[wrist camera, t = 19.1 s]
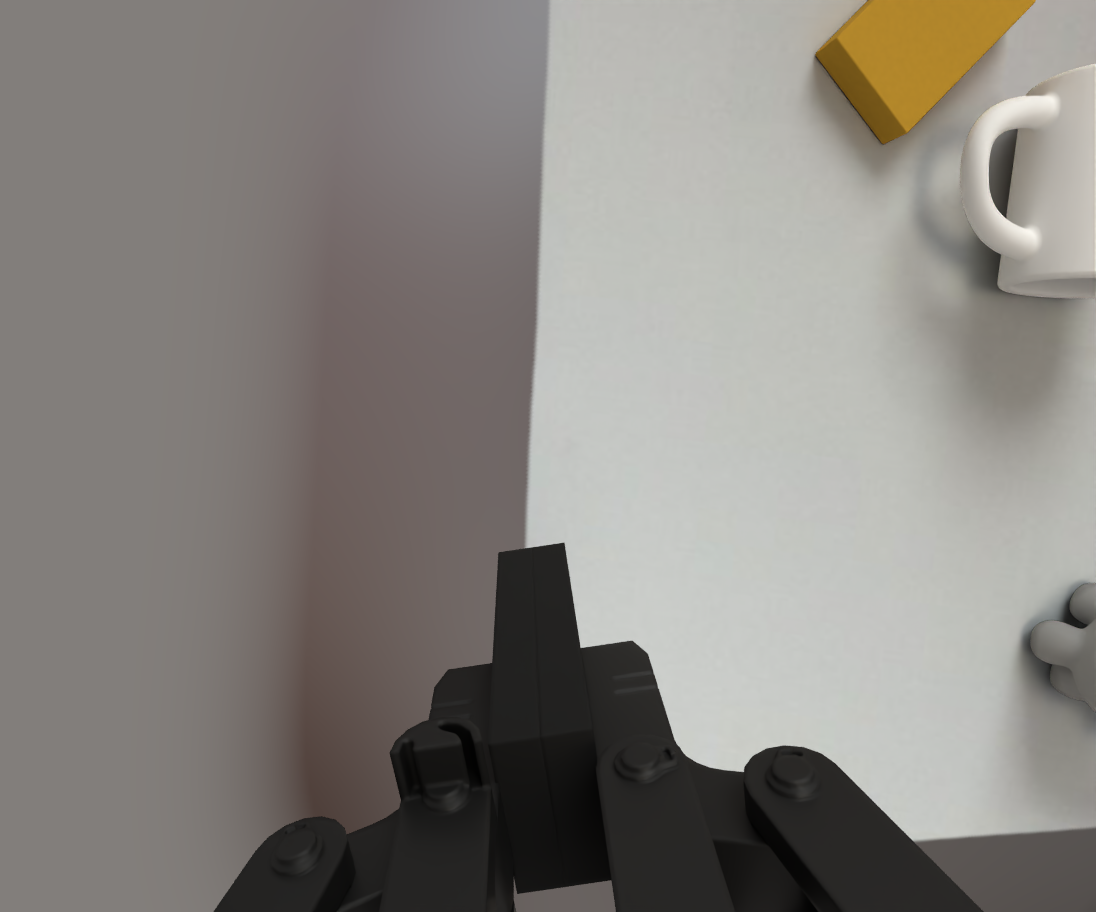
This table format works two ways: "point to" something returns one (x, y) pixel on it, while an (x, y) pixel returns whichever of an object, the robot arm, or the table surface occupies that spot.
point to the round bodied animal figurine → (1071, 648)
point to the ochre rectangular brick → (911, 54)
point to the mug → (1040, 188)
